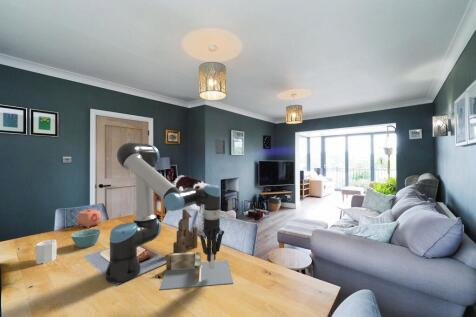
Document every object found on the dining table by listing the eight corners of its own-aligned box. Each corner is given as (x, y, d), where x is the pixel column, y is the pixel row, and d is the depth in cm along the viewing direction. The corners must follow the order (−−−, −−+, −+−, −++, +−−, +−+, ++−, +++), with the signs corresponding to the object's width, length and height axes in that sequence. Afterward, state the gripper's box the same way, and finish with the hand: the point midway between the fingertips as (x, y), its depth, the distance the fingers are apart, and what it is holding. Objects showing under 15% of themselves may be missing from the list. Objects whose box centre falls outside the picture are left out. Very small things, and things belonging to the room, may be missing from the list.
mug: (60, 257, 120) (60, 240, 120) (42, 265, 111) (42, 246, 112) (44, 255, 123) (44, 238, 123) (26, 262, 115) (26, 244, 115)
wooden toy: (181, 256, 123) (181, 213, 123) (173, 253, 126) (173, 211, 126) (198, 246, 137) (198, 207, 137) (190, 244, 140) (190, 206, 140)
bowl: (65, 247, 133) (65, 234, 134) (90, 239, 148) (90, 227, 148) (81, 252, 128) (81, 238, 128) (106, 242, 142) (106, 230, 142)
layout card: (159, 290, 91) (159, 289, 91) (168, 264, 112) (168, 264, 112) (233, 283, 96) (233, 282, 96) (227, 260, 117) (227, 260, 117)
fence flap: (196, 267, 108) (196, 254, 108) (200, 267, 109) (200, 253, 109) (194, 281, 96) (194, 265, 96) (199, 280, 97) (199, 265, 97)
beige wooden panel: (165, 270, 106) (165, 255, 106) (166, 268, 109) (166, 253, 109) (200, 268, 109) (200, 253, 109) (200, 266, 111) (200, 251, 111)
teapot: (71, 226, 176) (72, 209, 176) (87, 222, 188) (87, 206, 188) (90, 229, 168) (90, 211, 169) (105, 225, 180) (105, 208, 181)
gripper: (202, 221, 94) (201, 274, 94) (227, 217, 102) (226, 267, 101) (196, 217, 100) (195, 267, 100) (220, 214, 108) (219, 260, 108)
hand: (211, 267), depth 101 cm, fingers closed
